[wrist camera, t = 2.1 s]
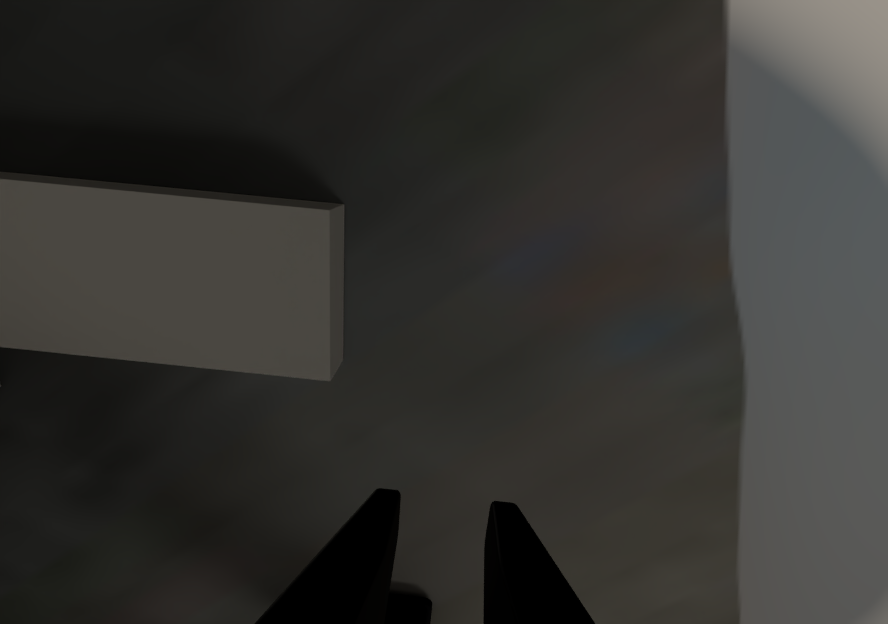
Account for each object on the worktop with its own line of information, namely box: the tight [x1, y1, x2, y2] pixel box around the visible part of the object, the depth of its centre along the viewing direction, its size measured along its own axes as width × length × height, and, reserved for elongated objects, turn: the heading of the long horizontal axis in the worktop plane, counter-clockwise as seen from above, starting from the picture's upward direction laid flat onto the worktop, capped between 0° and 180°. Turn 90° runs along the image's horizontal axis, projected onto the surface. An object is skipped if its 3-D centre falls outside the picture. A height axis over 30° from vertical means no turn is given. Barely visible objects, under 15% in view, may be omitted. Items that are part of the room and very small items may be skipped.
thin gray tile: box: [0, 172, 344, 381], centre depth 18 cm, size 16×7×2 cm, turn 85°
